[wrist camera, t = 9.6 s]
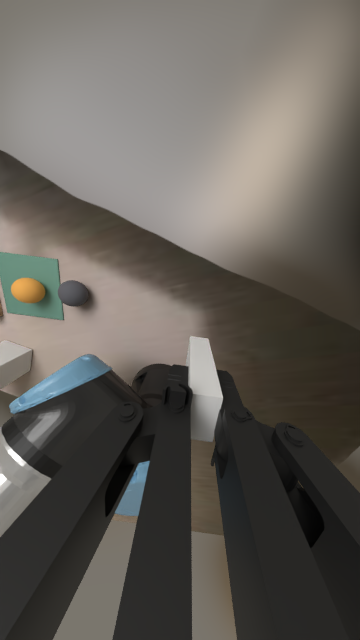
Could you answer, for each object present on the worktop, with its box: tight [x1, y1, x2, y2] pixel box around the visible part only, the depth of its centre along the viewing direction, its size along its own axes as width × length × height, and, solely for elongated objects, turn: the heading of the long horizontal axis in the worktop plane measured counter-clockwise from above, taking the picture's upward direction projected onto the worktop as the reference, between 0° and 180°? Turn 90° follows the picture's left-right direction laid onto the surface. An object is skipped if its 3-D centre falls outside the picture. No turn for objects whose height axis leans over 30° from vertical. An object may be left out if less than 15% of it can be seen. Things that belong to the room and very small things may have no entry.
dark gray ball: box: [58, 280, 88, 306], centre depth 36 cm, size 6×6×6 cm
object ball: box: [11, 278, 45, 303], centre depth 36 cm, size 6×6×6 cm
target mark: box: [0, 252, 64, 320], centre depth 38 cm, size 14×14×1 cm
